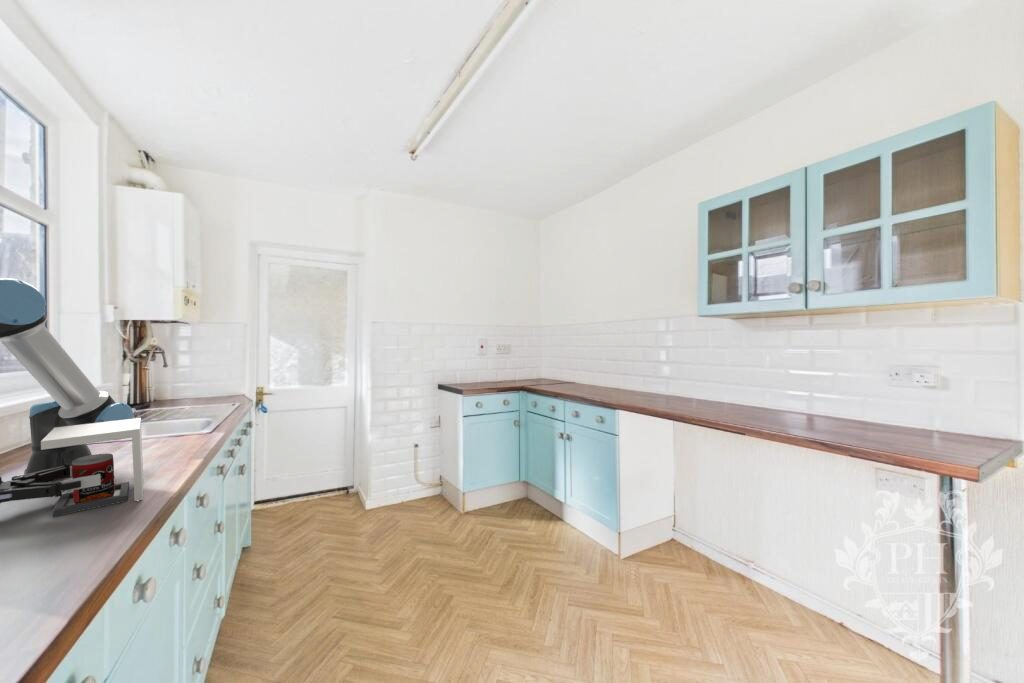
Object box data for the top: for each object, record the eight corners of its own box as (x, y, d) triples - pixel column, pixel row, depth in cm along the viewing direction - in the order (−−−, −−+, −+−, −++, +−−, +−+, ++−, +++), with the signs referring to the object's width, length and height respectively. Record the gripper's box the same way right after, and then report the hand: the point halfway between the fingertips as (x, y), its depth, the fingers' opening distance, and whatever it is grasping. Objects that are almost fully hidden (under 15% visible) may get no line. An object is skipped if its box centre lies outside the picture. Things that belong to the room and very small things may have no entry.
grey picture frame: (53, 516, 98) (52, 510, 98) (61, 499, 108) (61, 494, 108) (127, 500, 107) (126, 495, 107) (129, 486, 116) (128, 481, 116)
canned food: (78, 508, 102) (76, 464, 102) (69, 501, 106) (67, 459, 106) (119, 497, 108) (117, 456, 108) (109, 490, 113) (108, 451, 112)
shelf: (44, 521, 96) (40, 441, 95) (57, 497, 109) (54, 427, 108) (142, 500, 107) (139, 428, 106) (143, 481, 120) (140, 417, 120)
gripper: (-11, 494, 103) (106, 474, 118) (-46, 530, 85) (99, 501, 99) (-13, 465, 103) (105, 448, 117) (-48, 495, 85) (97, 470, 99)
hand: (102, 472), depth 108 cm, fingers open, 13 cm apart
